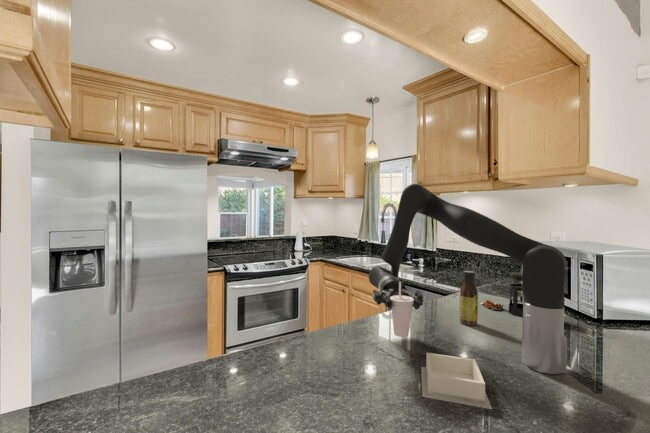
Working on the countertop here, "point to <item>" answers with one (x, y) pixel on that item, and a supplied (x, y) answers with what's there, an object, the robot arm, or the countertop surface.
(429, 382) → the cream open box
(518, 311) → the french press
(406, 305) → the smoothie
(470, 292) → the sauce bottle
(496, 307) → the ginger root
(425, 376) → the mat
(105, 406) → the countertop surface
